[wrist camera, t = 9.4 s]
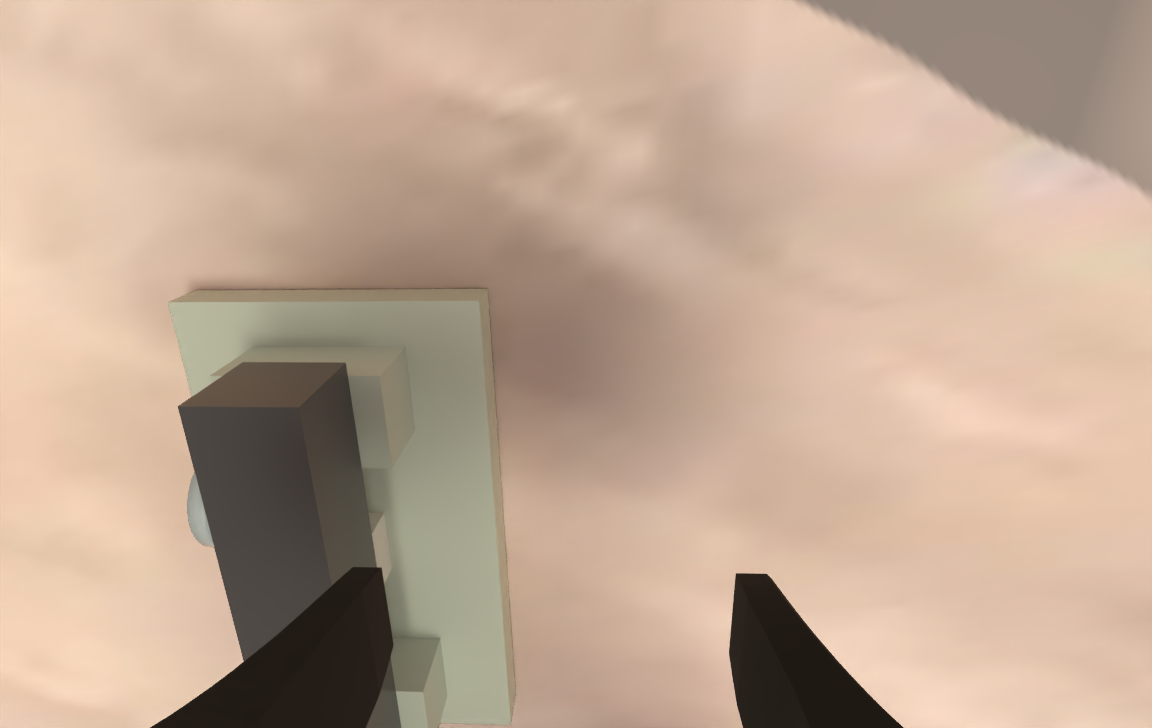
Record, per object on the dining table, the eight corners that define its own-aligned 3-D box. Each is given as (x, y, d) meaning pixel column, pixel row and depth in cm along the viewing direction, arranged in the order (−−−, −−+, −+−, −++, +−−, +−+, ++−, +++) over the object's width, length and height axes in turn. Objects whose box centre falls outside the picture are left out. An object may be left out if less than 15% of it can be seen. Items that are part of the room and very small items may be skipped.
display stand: (515, 694, 28) (501, 783, 24) (289, 688, 29) (241, 775, 25) (487, 288, 22) (462, 325, 18) (195, 290, 22) (112, 326, 18)
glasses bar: (407, 763, 24) (380, 848, 21) (312, 760, 24) (274, 843, 22) (345, 362, 18) (298, 407, 16) (222, 361, 19) (154, 405, 16)
